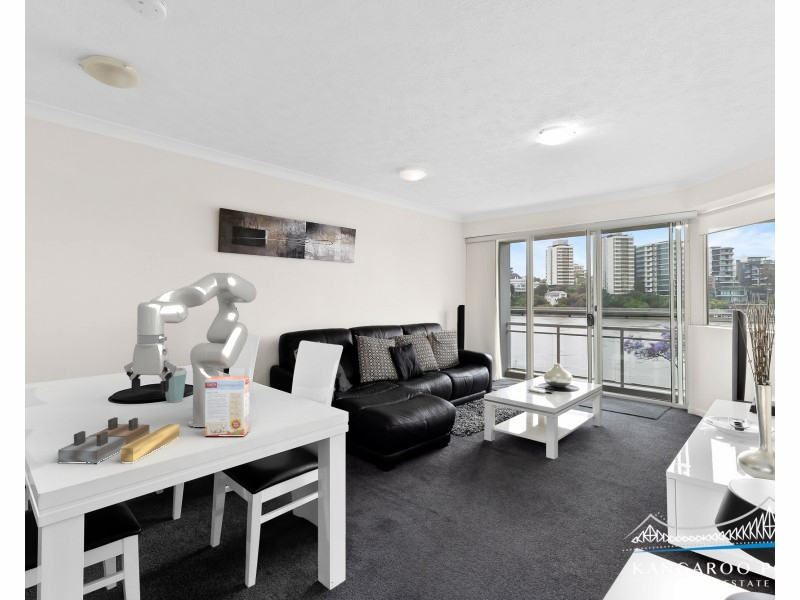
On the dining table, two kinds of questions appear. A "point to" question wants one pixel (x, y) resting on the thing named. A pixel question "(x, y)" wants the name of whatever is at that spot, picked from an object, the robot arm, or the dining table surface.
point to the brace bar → (149, 443)
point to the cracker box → (226, 406)
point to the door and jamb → (102, 442)
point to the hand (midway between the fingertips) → (150, 392)
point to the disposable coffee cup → (176, 386)
